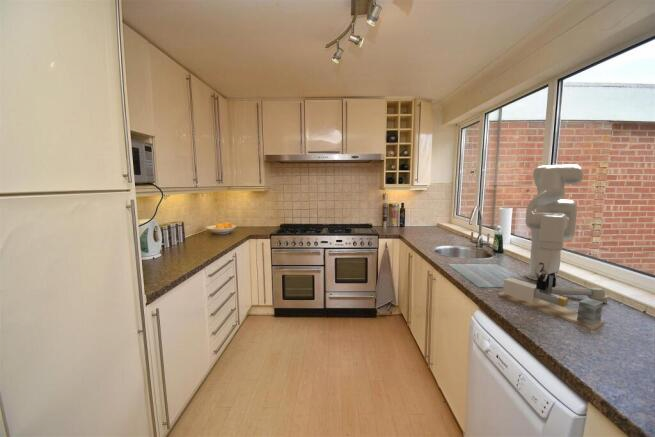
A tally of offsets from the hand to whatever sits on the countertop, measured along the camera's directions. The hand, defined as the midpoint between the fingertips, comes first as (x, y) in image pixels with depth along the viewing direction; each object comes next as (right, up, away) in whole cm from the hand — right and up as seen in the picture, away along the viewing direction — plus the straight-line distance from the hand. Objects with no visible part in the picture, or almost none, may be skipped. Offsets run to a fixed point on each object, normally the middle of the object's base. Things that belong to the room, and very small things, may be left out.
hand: (545, 287), depth 110 cm
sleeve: (-4, -7, +9) cm, 12 cm away
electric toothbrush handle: (+19, -8, +11) cm, 23 cm away
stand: (0, -9, +1) cm, 9 cm away
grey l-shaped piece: (-1, -5, +4) cm, 6 cm away
